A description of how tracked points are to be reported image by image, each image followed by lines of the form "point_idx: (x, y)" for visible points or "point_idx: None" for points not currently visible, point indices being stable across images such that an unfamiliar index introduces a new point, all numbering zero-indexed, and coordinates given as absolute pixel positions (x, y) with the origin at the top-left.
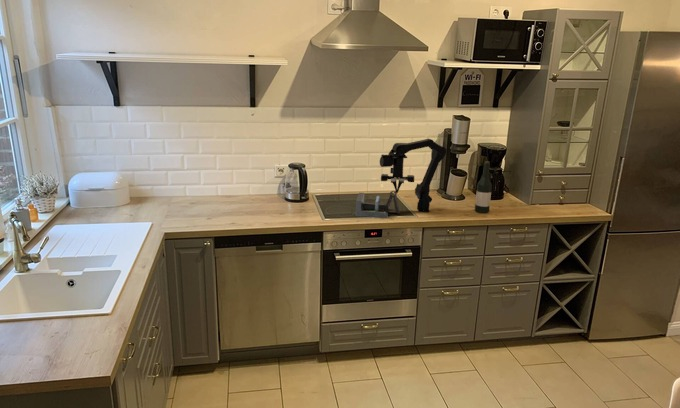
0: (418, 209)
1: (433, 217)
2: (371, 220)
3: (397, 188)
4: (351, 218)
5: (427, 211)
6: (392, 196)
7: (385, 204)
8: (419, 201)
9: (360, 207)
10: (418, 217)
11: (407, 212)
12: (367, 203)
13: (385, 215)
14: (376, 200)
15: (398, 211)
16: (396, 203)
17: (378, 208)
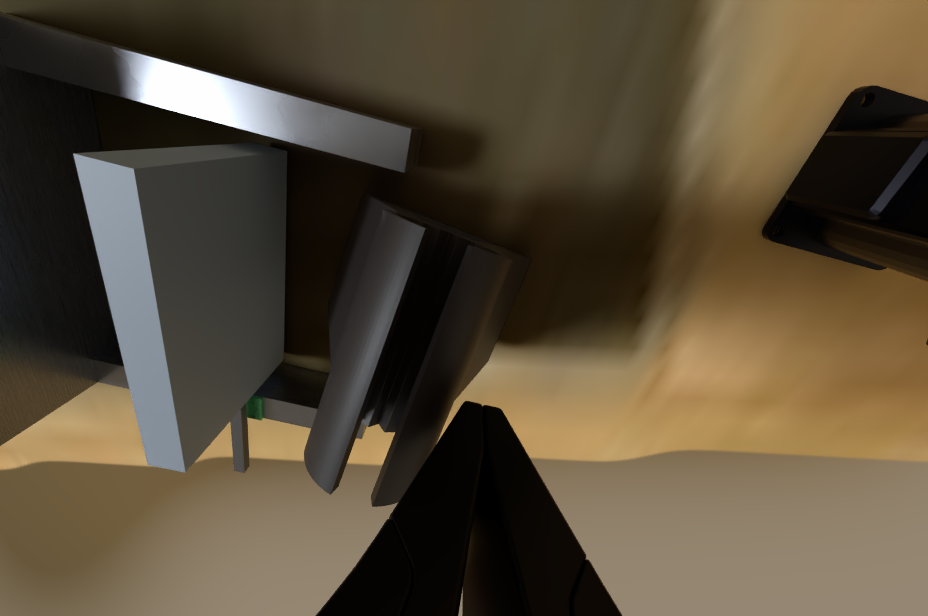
0: (795, 208)
1: (798, 404)
2: (250, 434)
3: (463, 609)
4: (86, 389)
5: (865, 266)
6: (380, 425)
7: (351, 126)
8: (918, 240)
9: (48, 408)
10: (656, 397)
11: (616, 256)
12: (64, 62)
13: None
14: (150, 426)
15: (485, 363)
16: (460, 393)
17: (267, 248)
